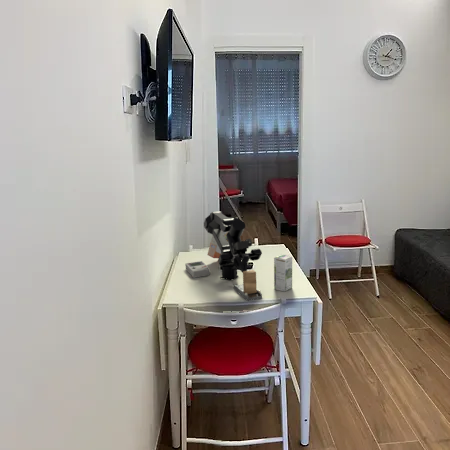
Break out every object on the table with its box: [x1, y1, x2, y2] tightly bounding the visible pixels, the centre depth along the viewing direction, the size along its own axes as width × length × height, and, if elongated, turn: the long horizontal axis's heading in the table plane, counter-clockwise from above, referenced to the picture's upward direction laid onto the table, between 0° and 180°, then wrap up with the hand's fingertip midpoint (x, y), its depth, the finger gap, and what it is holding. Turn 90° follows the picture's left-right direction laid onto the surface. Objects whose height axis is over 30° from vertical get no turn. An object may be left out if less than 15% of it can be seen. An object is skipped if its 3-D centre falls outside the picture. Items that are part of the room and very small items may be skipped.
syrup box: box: [273, 253, 293, 292], centre depth 187 cm, size 6×6×14 cm
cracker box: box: [207, 230, 228, 259], centre depth 230 cm, size 14×6×21 cm, turn 133°
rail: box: [233, 283, 263, 302], centre depth 185 cm, size 16×6×3 cm, turn 20°
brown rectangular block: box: [242, 269, 258, 294], centre depth 181 cm, size 3×5×9 cm, turn 109°
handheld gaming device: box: [184, 260, 211, 278], centre depth 215 cm, size 9×15×4 cm, turn 19°
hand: (245, 274), depth 184 cm, fingers closed
